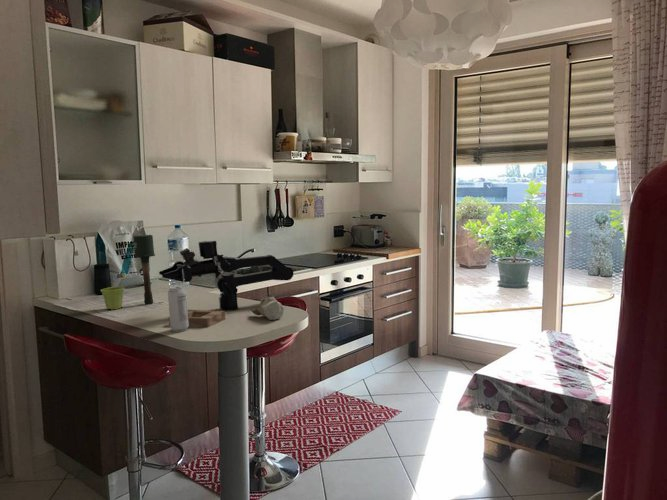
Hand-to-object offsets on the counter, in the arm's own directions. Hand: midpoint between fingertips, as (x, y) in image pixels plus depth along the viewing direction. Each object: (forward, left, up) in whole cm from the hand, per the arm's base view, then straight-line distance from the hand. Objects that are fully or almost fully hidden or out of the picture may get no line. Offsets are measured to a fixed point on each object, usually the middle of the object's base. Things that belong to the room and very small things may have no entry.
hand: (160, 274), depth 204 cm
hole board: (-11, +16, -17) cm, 25 cm away
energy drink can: (-4, +24, -17) cm, 30 cm away
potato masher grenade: (+5, -32, -17) cm, 36 cm away
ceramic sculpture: (-36, +22, -17) cm, 46 cm away
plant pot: (+19, -30, -17) cm, 39 cm away
